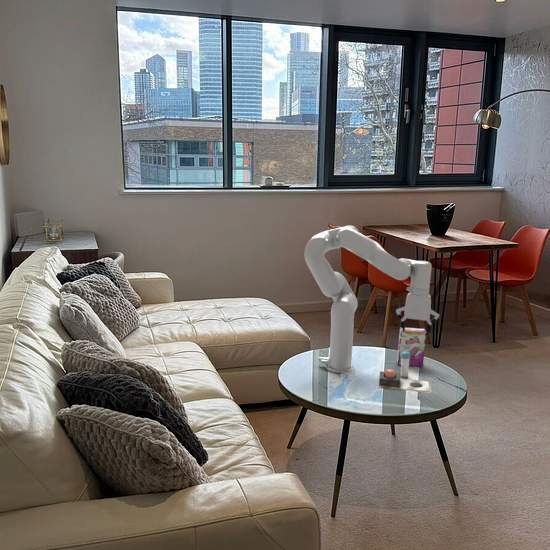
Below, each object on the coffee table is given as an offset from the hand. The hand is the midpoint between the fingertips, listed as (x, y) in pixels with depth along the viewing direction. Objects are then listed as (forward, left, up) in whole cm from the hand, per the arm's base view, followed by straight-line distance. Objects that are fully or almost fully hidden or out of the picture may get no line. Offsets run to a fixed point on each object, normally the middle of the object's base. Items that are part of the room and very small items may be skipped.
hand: (415, 331), depth 239 cm
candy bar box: (0, +17, -20) cm, 26 cm away
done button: (-9, -11, -17) cm, 22 cm away
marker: (-3, -1, -20) cm, 20 cm away
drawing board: (-3, -11, -20) cm, 23 cm away
